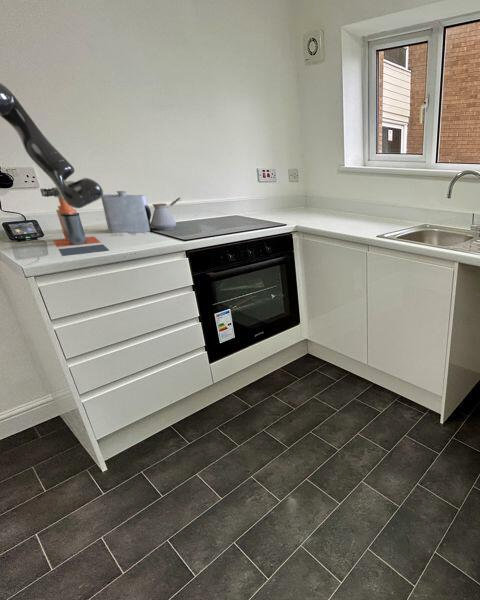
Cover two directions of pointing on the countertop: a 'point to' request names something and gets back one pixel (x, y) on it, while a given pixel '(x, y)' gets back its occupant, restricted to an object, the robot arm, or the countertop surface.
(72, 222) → the steel canister
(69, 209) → the terracotta bottle
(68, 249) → the grey mat
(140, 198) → the hip flask
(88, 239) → the terracotta mat
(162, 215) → the coffee pot
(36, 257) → the countertop surface
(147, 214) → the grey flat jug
